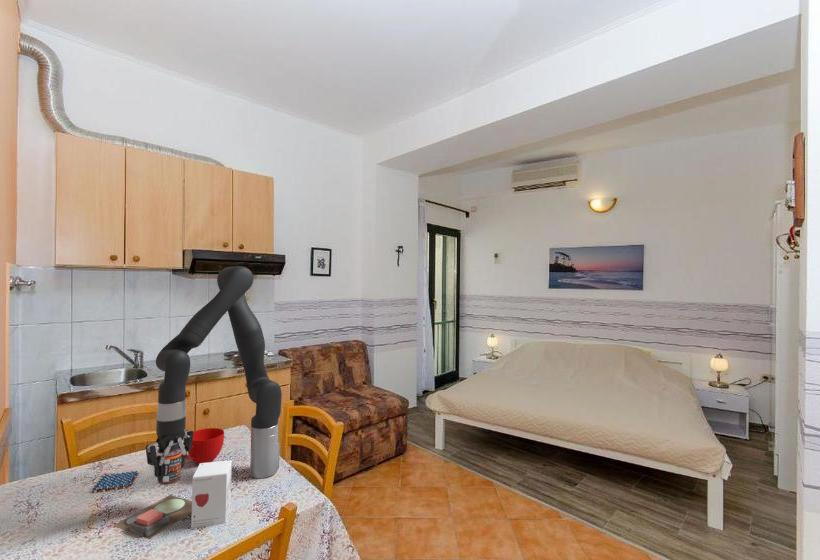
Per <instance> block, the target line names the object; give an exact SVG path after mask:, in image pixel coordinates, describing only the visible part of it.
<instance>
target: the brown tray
mask: <svg viewBox="0 0 820 560" xmlns="http://www.w3.org/2000/svg"><path fill="white" fill-rule="evenodd" d="M151 509H154V510H157V511H160V512H163V518H161V519H160V520H158V521H156V522H155V523H153V524H151V525H149V526H148V527H146V526H143V525H140V524H138V523H136V518H137V517H138V516H140V515H142V514H144V513H146V512H148V511H149V510H151ZM191 514H192V500H189V499H186V498H183V497H179V496H177V495H176V496H175V495H172V494H170V495H167V496H166V497H164V498H161V499H159V500H158V501H156V502H154V503H152V504H151V505H149V506H147V507H145V508H143V509H141V510H139V511H138V512H136V513H134V514H132V515H129V516H128V517H126V518H125V519H123V520H121V521H119V522H117V523H114V524H113V525H112V526H113V527H115V528H117V529H121V530H124V531H125V532H129V533H132V534H134V535H137V536H140V537H142V538H145V539H148V540H150V539H152V537H154V536H157V535H158V534H160V533H161V532H163V531H164V530H166V529H168V528H169V527H171V526H173V524H176V523H177V522H179V521H180V520H182V519H183V518H185V517H187V516H189V515H191Z"/></svg>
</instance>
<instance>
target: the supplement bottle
mask: <svg viewBox="0 0 820 560" xmlns="http://www.w3.org/2000/svg"><path fill="white" fill-rule="evenodd" d="M178 446H179V445H178V443H177V442H176V443H173V445H172V447H171V448H170V451H169V453H168V456H167V457H165V460H164V462H163V477H161V478H157V484H159V485H162V486H167V485H173V484H175V483H177V482H178V481H180V479H181V477H182V468H181V461H182V450H181V449H180V448H179V447H178ZM161 453H164V451H162V452H161ZM160 458H161V456H160ZM159 460H160V459H159Z"/></svg>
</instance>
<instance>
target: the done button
mask: <svg viewBox="0 0 820 560" xmlns="http://www.w3.org/2000/svg"><path fill="white" fill-rule="evenodd" d="M161 518H163V512H160V511H157V510H154V509H151V510H149V511H148V512H146V513H144V514H142V515H140V516H138V517H137V518H136V523H138V524H140V525H143V526H146V527H148V526H149V525H151V524H153V523H155V522H156V521H158V520H160V519H161Z"/></svg>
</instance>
